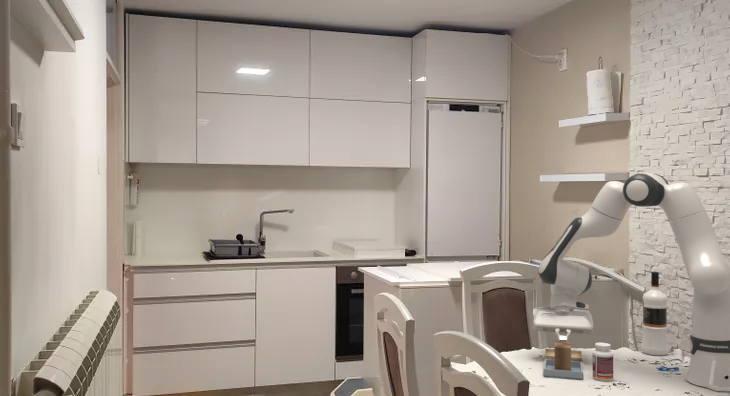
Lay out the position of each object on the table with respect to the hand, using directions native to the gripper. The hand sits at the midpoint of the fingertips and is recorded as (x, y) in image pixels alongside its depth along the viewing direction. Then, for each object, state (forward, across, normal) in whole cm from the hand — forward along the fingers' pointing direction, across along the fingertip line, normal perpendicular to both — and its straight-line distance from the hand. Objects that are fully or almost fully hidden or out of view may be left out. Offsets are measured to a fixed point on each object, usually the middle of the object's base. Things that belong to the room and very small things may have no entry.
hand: (562, 341), depth 215 cm
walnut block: (+6, 0, -2) cm, 6 cm away
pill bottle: (+15, +12, -3) cm, 19 cm away
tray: (+12, 0, -1) cm, 12 cm away
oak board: (+4, 0, +8) cm, 8 cm away
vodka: (-14, +32, +25) cm, 43 cm away
